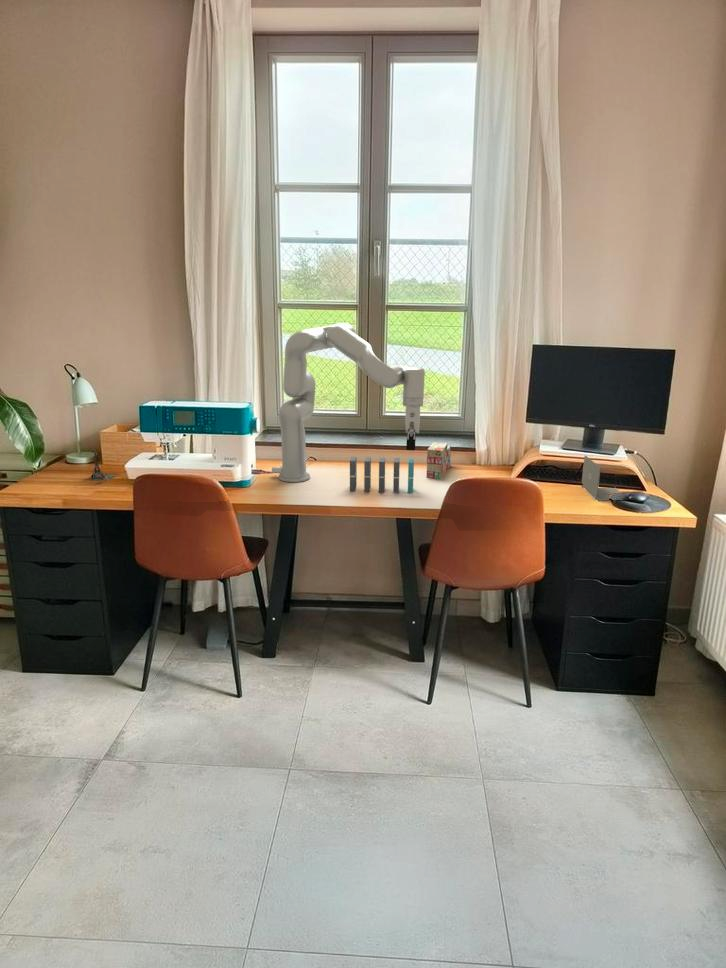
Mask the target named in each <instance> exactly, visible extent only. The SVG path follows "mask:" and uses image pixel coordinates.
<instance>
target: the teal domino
mask: <svg viewBox="0 0 726 968" xmlns="http://www.w3.org/2000/svg"><path fill="white" fill-rule="evenodd" d="M407 465H408V466H407V467H408V468H407V494H414V479H415V478H414V475H415V473H414V471H415V468H414V467H415V466H414V465H415V458H412V457H411V458H408V464H407Z"/></svg>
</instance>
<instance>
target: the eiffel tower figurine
mask: <svg viewBox="0 0 726 968" xmlns="http://www.w3.org/2000/svg"><path fill="white" fill-rule="evenodd" d="M93 452H94V469H93V471H92V474H91V476H90V477H89V479H91V481H92V482H94V481H101V480H102V481H101V482H96V483H95V485H100V484H103V483H105V482H107V481H110V480H112V479H113V478H116V477H117V475H116V474H112V473H109V474H108V473H107V472H103V471H102V470H101V469H100V466H99V464H98V463H99V462H98V456H97V451H96V449H95V447H94V449H93ZM103 480H104V481H103Z"/></svg>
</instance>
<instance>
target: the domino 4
mask: <svg viewBox="0 0 726 968" xmlns="http://www.w3.org/2000/svg"><path fill="white" fill-rule="evenodd" d="M393 459H394V460H393V487H392V488H393V489H392V490H393V491H392V492H393V494H399V493H400V468H401V467H400V466H401V465H400V462H401V461H400V457H394V458H393Z"/></svg>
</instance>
